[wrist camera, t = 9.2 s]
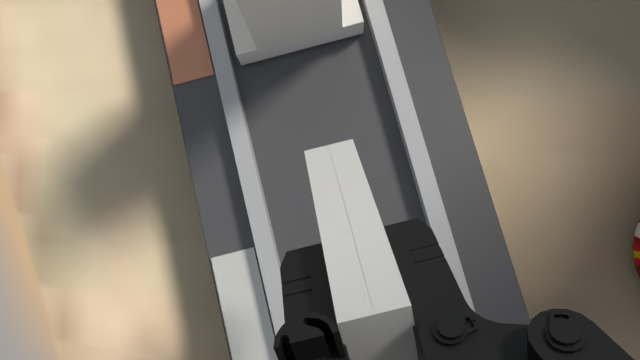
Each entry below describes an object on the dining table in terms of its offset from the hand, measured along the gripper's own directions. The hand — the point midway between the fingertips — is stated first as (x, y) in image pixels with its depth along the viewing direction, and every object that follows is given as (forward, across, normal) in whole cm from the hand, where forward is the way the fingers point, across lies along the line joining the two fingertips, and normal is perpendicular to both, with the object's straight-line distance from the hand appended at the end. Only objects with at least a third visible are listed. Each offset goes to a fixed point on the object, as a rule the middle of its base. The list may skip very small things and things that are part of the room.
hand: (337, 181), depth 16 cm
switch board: (+9, 0, -6) cm, 11 cm away
